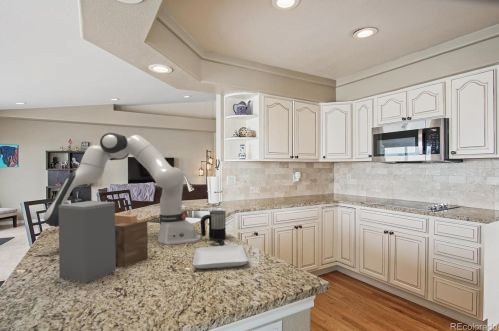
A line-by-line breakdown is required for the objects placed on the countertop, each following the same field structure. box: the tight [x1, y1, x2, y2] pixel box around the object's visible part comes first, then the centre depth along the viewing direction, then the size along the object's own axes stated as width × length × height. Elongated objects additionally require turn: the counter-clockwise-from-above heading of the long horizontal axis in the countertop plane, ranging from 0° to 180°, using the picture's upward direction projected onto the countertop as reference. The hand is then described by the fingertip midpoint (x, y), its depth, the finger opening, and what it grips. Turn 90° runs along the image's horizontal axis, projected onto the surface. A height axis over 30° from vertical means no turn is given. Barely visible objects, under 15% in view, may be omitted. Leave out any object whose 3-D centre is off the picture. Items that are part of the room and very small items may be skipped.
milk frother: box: [200, 210, 227, 245], centre depth 140 cm, size 14×16×15 cm
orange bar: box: [115, 213, 138, 224], centre depth 116 cm, size 22×3×3 cm, turn 66°
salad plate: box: [192, 244, 249, 270], centre depth 111 cm, size 21×21×3 cm
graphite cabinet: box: [58, 200, 117, 284], centre depth 99 cm, size 14×12×26 cm
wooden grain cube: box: [115, 219, 149, 268], centre depth 113 cm, size 14×12×16 cm
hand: (103, 213), depth 119 cm, fingers open, 8 cm apart
